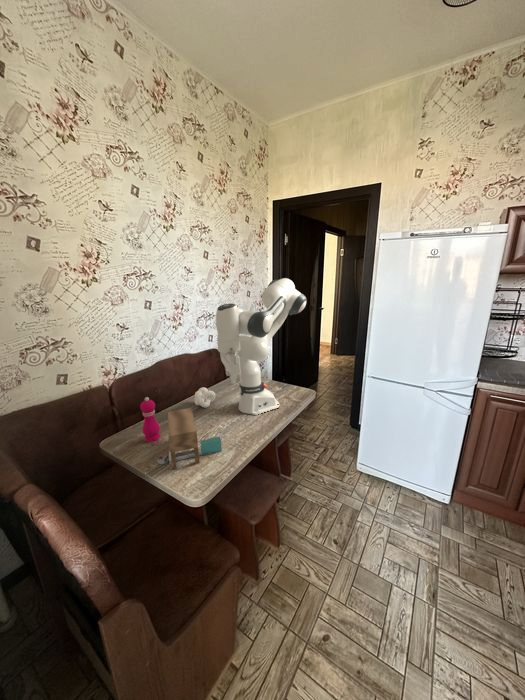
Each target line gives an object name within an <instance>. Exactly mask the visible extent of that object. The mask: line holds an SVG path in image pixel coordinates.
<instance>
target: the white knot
mask: <svg viewBox="0 0 525 700" xmlns="http://www.w3.org/2000/svg"><path fill="white" fill-rule="evenodd" d="M215 398H216V393H215V392H214V391H213V390H208V388H206V387H200V388H199V389H198V390H197V391H195V393H194V404H195V405H196V406H201V407H202V408H204V409H206V408H208V407H210V405H211V403H212V402H213V401H214V400H215Z"/></svg>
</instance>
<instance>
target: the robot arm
mask: <svg viewBox="0 0 525 700" xmlns="http://www.w3.org/2000/svg"><path fill="white" fill-rule="evenodd" d="M270 281H271V280H270ZM261 300H262V304H263V305H264V307H265V308H266V310H262V311H261V310H260V311H256V310H255V311H254V310H253V311H252V310H245V309H242V308H239V306H238V305H236V304H235V303H224V304H221V305H219V306H218V307H217V308H216V311H215V313H216V314H215V324H216V326H215V328H216V331H217V337H216V342H217V351H218V352H219V355H220V360H221V363H222V364H223V366H224V369H225V375H226V376H227V377H228V376H229V377H230V382H231V384H232V385H234V384H236V383H237V376H239V388H238V390H239V394H240V395H239V404H238V408H237V409H238V411H239V412H241V413H243V414H249V415H253V416H259V415H262V414H261V413H263V414H265V413H264V412H266V413H268V412H267V411H269V412H271V411H270V410H272V409H275V408H278V407H279V406H280V405H281V404H280V402H279V401H278V400H277V399H276V398H275V395H274V394H273V392H272V391H271V390H269V389H267V388H268V385H267V384H266V383H264V382H263V381H262V376H261V375H262V372H261V367H260V366H259V364H258V362H261V363H262V362H264V361H265V360H266V359H267V358H268V357H269V355H270V347H269V346H270V343H271V340H272V338H273V337H274V336H275V334H276V333H277V331H278V330H279V329H280V328H281V327H282V325H283V324H284V322H285V320H286V319H287V317H288V315H289V316H292V315H297V314H300V313H301V312H302V311H303V310H304V309H305V308H306V305H307V302H308V300H307V297H306V295H304V294H303V293H301V292H300V291H299V290H297V289H296V286H295V284H294V282H293V280H291V279H289V278H287V277H284V278H283V277H282V278H280V279H274V280H272V281H271V282H269V284H268V285H267V287H266V288H265V289H264V290H263V292H261ZM277 404H279V405H277ZM280 407H281V406H280ZM258 414H259V415H258Z"/></svg>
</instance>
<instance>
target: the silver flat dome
mask: <svg viewBox="0 0 525 700" xmlns="http://www.w3.org/2000/svg"><path fill="white" fill-rule="evenodd" d="M156 462H157V465H159V466H165V465H167V464H168V463H169V455H162V456H159V457H158V458H157V460H156Z"/></svg>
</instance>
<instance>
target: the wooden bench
mask: <svg viewBox="0 0 525 700" xmlns="http://www.w3.org/2000/svg"><path fill="white" fill-rule="evenodd" d="M167 433H168V434H167V437H168V445H169V452H171V460H172V465H171V467H172V470H176V469H177V468H178V466H177V461H176V456H175V454H176V453H179V452H181V451H182V452H184V451H189V450H194V453H195V457H194V461H195V464H200V463H201V461H200V456H199V451H198V449H199V443H198V433H197V427H196V423H195V417H194V412H193V408H192V407H189V408H188V407H187V408H184V409H183V408H182V409H178V410H171V411H167Z"/></svg>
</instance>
